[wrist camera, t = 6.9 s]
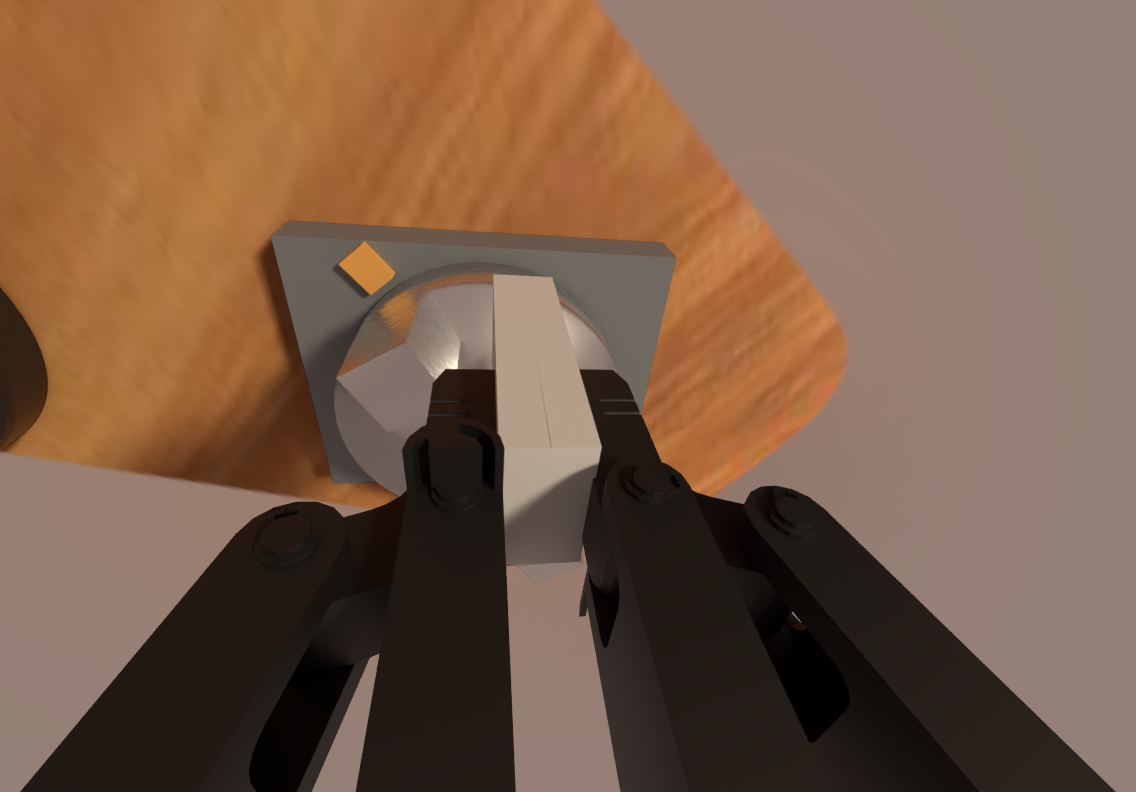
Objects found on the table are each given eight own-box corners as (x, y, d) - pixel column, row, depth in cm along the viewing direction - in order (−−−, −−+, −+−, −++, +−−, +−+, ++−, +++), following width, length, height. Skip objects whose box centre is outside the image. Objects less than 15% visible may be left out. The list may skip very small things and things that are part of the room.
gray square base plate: (343, 457, 27) (330, 491, 25) (288, 220, 20) (264, 240, 18) (619, 454, 29) (628, 484, 27) (663, 242, 22) (680, 262, 20)
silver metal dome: (527, 503, 28) (534, 613, 22) (311, 424, 23) (254, 539, 17) (661, 347, 23) (713, 439, 17) (422, 201, 18) (390, 266, 12)
